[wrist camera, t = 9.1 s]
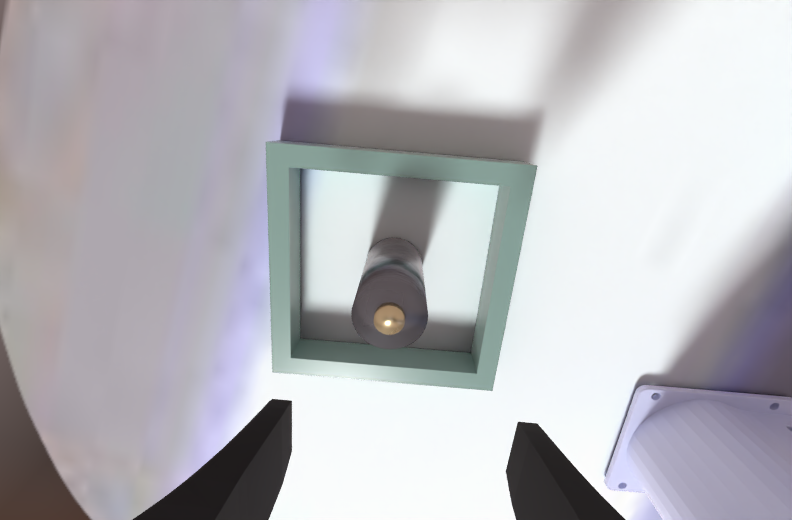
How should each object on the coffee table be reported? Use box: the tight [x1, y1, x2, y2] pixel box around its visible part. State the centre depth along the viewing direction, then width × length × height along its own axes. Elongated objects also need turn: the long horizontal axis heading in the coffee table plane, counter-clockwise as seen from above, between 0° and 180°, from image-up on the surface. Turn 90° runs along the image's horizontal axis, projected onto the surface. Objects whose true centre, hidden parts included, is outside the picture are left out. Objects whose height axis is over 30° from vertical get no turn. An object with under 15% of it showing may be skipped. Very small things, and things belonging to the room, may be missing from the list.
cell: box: [352, 238, 428, 349], centre depth 18 cm, size 3×3×6 cm
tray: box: [266, 140, 537, 391], centre depth 20 cm, size 12×12×2 cm
